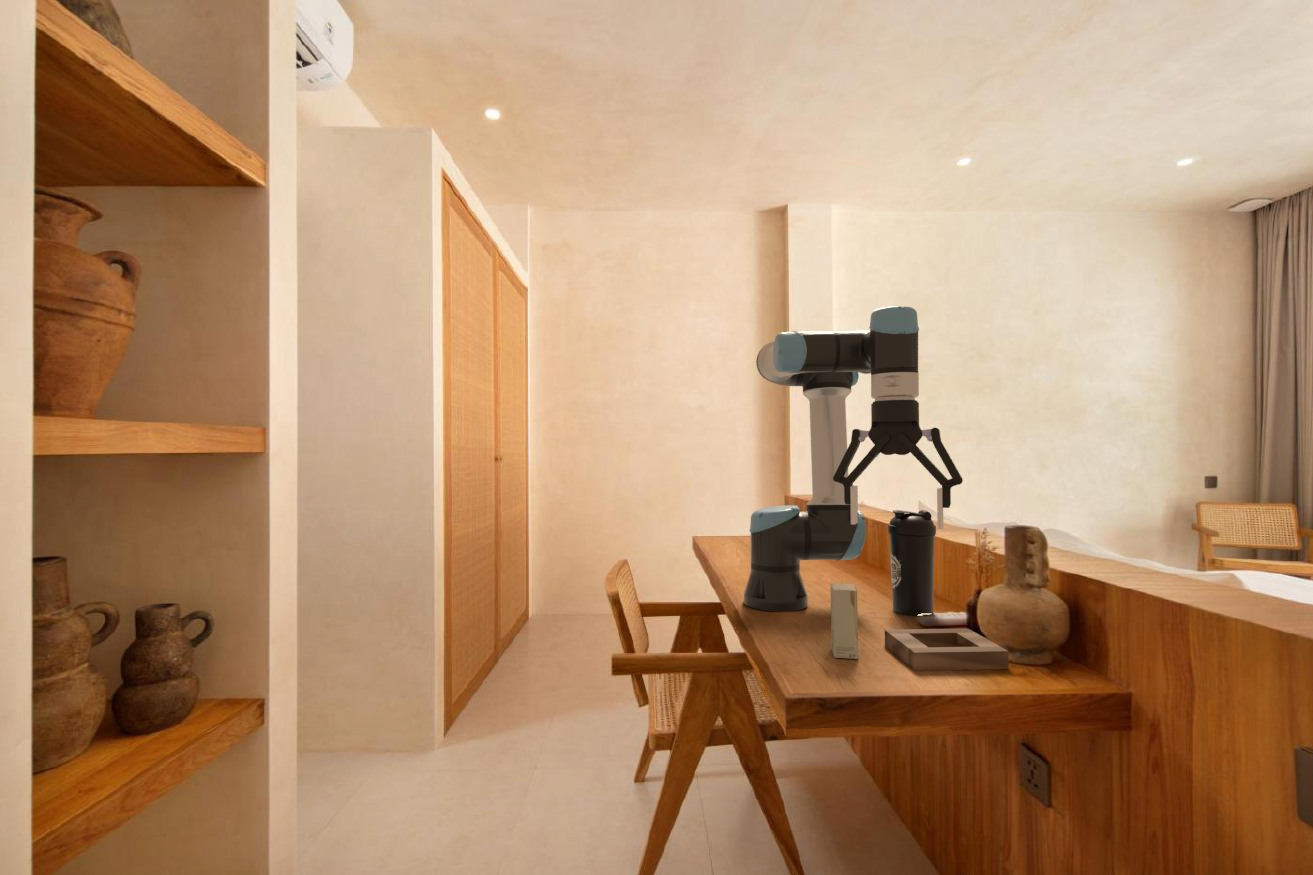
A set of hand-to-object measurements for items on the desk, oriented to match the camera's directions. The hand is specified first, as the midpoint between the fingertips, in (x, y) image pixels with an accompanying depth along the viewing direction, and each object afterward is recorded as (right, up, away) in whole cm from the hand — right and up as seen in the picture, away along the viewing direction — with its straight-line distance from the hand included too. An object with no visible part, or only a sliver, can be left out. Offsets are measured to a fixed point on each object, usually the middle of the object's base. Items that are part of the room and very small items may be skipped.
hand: (896, 525), depth 104 cm
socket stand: (+11, -24, +7) cm, 28 cm away
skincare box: (-6, -25, +9) cm, 27 cm away
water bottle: (+18, -25, +37) cm, 48 cm away
